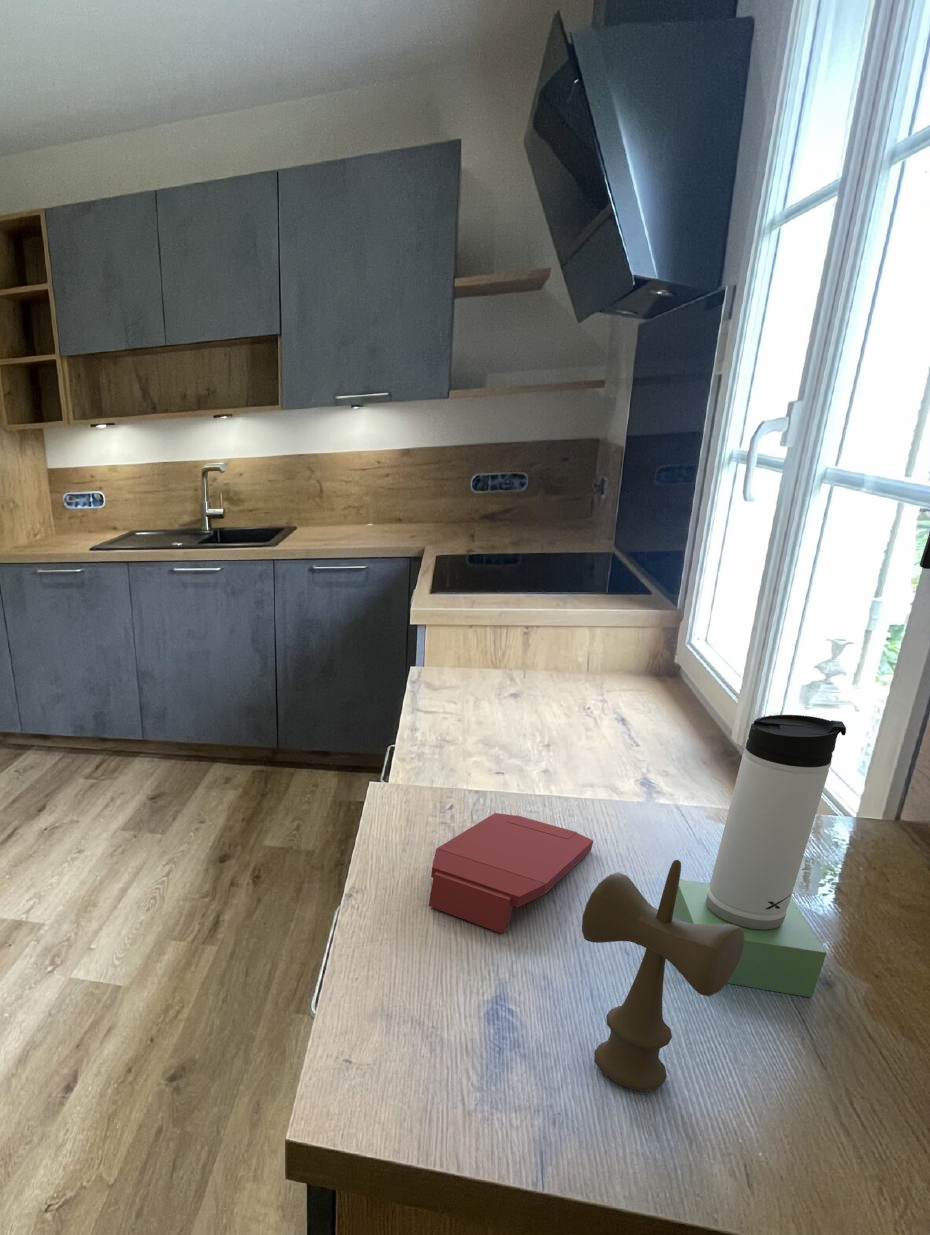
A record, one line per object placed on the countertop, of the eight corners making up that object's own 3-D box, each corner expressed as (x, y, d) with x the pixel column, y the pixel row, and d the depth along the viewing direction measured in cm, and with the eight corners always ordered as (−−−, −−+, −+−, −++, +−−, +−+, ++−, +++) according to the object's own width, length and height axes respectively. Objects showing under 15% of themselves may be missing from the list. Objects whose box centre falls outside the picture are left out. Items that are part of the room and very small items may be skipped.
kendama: (591, 1023, 70) (633, 823, 63) (709, 1092, 62) (771, 874, 55) (552, 1052, 67) (590, 846, 60) (670, 1128, 59) (731, 903, 52)
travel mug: (790, 939, 72) (852, 737, 65) (705, 919, 75) (755, 724, 68) (784, 905, 77) (842, 713, 70) (705, 888, 80) (751, 703, 73)
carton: (492, 844, 107) (411, 899, 88) (498, 810, 105) (418, 859, 87) (588, 873, 99) (521, 940, 81) (596, 837, 98) (530, 897, 80)
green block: (777, 935, 81) (790, 894, 79) (812, 998, 72) (827, 953, 70) (666, 918, 84) (675, 878, 82) (686, 976, 75) (697, 932, 74)
